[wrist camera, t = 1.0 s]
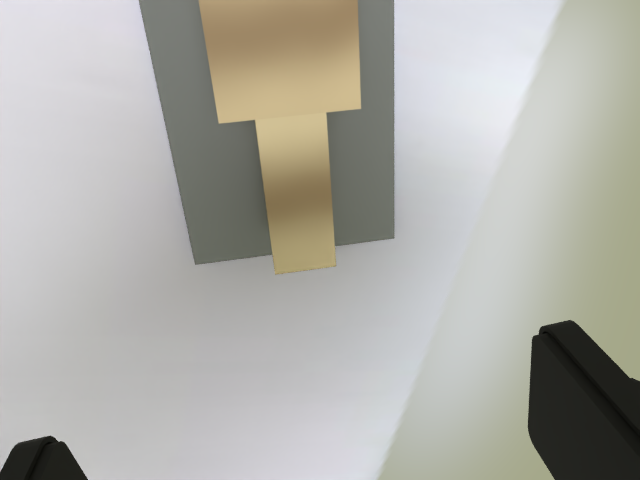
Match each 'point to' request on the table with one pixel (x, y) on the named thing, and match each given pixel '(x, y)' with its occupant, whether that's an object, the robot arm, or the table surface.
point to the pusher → (287, 106)
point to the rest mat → (242, 146)
